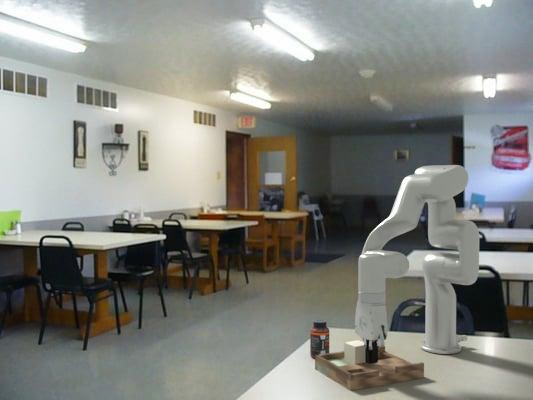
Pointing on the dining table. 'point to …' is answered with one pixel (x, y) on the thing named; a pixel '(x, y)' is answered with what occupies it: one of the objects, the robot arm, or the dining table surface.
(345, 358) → the block
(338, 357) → the tray
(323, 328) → the supplement bottle
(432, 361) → the dining table surface
